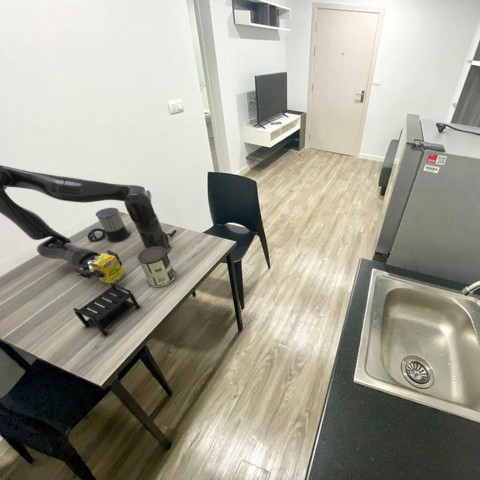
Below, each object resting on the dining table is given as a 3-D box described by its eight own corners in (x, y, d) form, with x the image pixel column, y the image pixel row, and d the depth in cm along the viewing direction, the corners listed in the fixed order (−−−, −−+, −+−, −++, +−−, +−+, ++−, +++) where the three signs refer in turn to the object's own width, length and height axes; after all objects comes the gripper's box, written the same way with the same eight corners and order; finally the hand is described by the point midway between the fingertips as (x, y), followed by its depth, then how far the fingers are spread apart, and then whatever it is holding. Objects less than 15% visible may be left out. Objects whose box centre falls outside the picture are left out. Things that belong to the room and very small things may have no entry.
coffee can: (164, 267, 120) (155, 243, 111) (180, 275, 116) (171, 251, 108) (143, 281, 112) (131, 256, 104) (159, 290, 109) (148, 265, 100)
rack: (121, 299, 104) (111, 282, 98) (140, 307, 101) (131, 290, 95) (85, 326, 93) (71, 309, 87) (105, 336, 91) (92, 319, 85)
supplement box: (114, 286, 103) (102, 265, 97) (101, 282, 104) (88, 262, 97) (126, 275, 108) (115, 255, 101) (113, 272, 109) (102, 252, 102)
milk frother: (132, 237, 135) (121, 212, 126) (95, 250, 125) (81, 224, 116) (122, 225, 142) (111, 201, 133) (87, 237, 132) (72, 212, 124)
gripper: (57, 261, 98) (88, 274, 94) (95, 240, 109) (125, 251, 105) (67, 275, 103) (97, 288, 98) (103, 254, 113) (132, 265, 109)
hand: (112, 269), depth 102 cm, fingers closed on supplement box, 6 cm apart
